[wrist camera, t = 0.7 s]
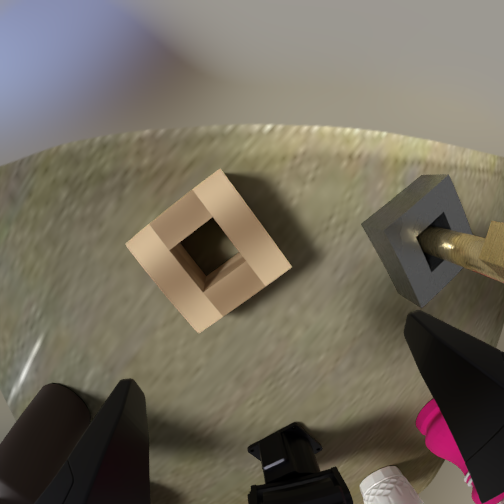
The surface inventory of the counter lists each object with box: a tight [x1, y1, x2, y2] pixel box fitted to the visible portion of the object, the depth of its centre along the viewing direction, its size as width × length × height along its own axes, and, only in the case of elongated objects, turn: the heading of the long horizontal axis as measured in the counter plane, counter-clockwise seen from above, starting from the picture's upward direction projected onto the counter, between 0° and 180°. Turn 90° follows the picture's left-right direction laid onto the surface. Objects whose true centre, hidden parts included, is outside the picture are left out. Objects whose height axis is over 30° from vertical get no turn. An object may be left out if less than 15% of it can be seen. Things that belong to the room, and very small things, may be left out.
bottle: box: [0, 384, 91, 504], centre depth 16 cm, size 7×7×20 cm
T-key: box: [416, 221, 504, 283], centre depth 18 cm, size 8×2×15 cm, turn 66°
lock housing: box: [361, 175, 472, 308], centre depth 23 cm, size 8×8×4 cm
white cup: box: [360, 466, 424, 504], centre depth 28 cm, size 8×8×10 cm
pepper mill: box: [416, 399, 504, 504], centre depth 21 cm, size 7×7×20 cm
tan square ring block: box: [125, 169, 292, 333], centre depth 21 cm, size 8×8×4 cm
